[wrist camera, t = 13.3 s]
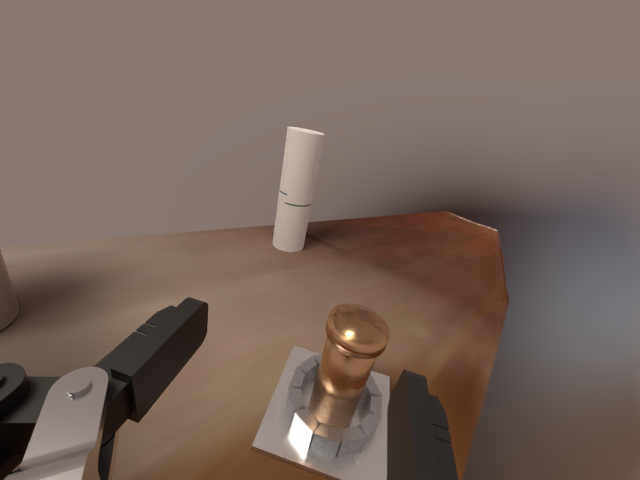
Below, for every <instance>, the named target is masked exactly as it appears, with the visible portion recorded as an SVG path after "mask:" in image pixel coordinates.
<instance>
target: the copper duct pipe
mask: <svg viewBox="0 0 640 480" xmlns="http://www.w3.org/2000/svg"><path fill="white" fill-rule="evenodd" d="M326 334H327V340H326V344H325V347H324V351H323V354H322V358H321V362H320V365H319V369H318V372H317V376H316V380H315V383H314V387H313V390H312V394H311V398H310V404H309V405H310V411H311V413H312V414H313V415H314V416H315V417H316V418H317V419H318V420H319V422H322V423H324V424H327V425H330V426H333V427H336V428H339V429H342V428H345V427H346V426H347V425H349V423H350V422H351V420H352V418H353V416H354V413H355V411H356V408H357V406H358V403H359V401H360V398H361V396H362V393H363V390H364V388H365V385H366V383H367V380H368V378H369V375H370V373H371V370H372V368H373V365H374V363H375V360H376V358H377V357H378V356H379V355H381V354H382V353H383V352H384V350H385V347H386V345H387V343H388V340H389V337H390V331H389V328H388V325H387V324H386V322H385V321H384V319H383V318H382V317H381V316H380V315H378V314H377V313H376V312H374V311H373V310H371V309H369V308H366V307H364V306H361V305H356V304H343V305H339V306H337V307H335V308H333V309H332V310H331V312H330V314H329V317H328V321H327V324H326Z"/></svg>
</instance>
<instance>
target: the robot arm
mask: <svg viewBox="0 0 640 480" xmlns="http://www.w3.org/2000/svg"><path fill="white" fill-rule="evenodd" d="M18 313H19V304H18V301H17V298H16V295H15V293H14V290H13V287H12V284H11V280H10V277H9V274H8V271H7V268H6V265H5V262H4V260H3V257H2V254H1V251H0V331H1V330H2V329H4V328H5V327H7V326H8V325H9V324H10V323H12V322H13V321H14V319H15V318H16V317H17V315H18ZM207 323H208V304H207V303H206V302H203V301H200V300H197V299H194V298H191V297H188V298H186V299H185V300H184V301H183V302H182V303H181V304H179V305H178V306H177V307H174V306H169V307H167V308H165V309H163V310H161V311H158V312H157V313H155V314H154V315H153V316H152V317H151V318H150V319H148V320H147V321H146V323H145V324H143V325H142V326H140V327H139V328H138V329H137V331H136V332H133V333H132V334H131V335H130V336H129V337H128V338H126V339H125V340H124V341H123V342H122V343H121V344H120V345H118V346H117V347H116V348H115V349H114V350H113V351H111V352H110V353H109V354H108V355H107V356H106V357H105V358H103V359H102V360H101V361H100V362H99V363H97V364H96V365H95V366H93V367H84V368H80V369H77V370H74V371H72V372H70V373H68V374H66V375H64V376H63V377H27V375H26V372H25V370H24V368H23V367H22V366H20V365H18V364H14V363H5V364H0V480H112V475H113V468H114V461H115V454H116V447H117V440H118V433H119V428H120V427H121V426H122V424H123V423H124V422H125V421H126V420H127V419H130V420H132V421H135V422H137V423H139V422H140V420H141V419H142V418H143V417H144V415H145V414H146V413H147V412H148V410H149V409H150V408H151V407H152V405H153V404H154V403H155V402H156V400H157V399H158V398H159V397H160V395H161V394H162V393H163V392H164V390H165V389H166V388H167V387H168V386H169V384H170V383H171V382H172V381H173V379H174V378H175V377H176V376H177V374H178V373H179V372H180V371H181V369H182V368H183V367H184V366H185V364H186V363H187V362H188V361H189V359H190V358H191V357H192V356H193V354H194V353H195V352H196V351H197V349H198V348H199V347H200V346H201V344H202V343H203V341H204V339H205V337H206V334H207ZM448 430H449V427H448V422H447V417H446V412H445V410H444V408H443V407H442V405H441V403H440V401H439V399H438V397H436V396H433V395H430V394H428V387H427V380H426V378H425V376H422V375H419V374H416V373H413V372H410V371H407V370H404V371H403V372H402V374H401V376H400V378H399V380H398V382H397V384H396V385H395V387H394V389H393V391H392V393H391V396H390V399H389V403H388V410H387V480H458V476H457V470H456V465H455V460H454V454H453V449H452V446H451V438H450V433H449V432H448ZM21 462H22V463H21ZM20 463H21V465H20V467H19V468H18V469H17V470H16V471H13V470H14V469H15V468H16V467H17V466H18V465H19V464H20ZM12 471H13V472H12Z"/></svg>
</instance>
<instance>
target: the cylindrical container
mask: <svg viewBox="0 0 640 480" xmlns="http://www.w3.org/2000/svg"><path fill="white" fill-rule="evenodd" d="M323 139H324V134H323V133H320V132H317V131H313V130H308V129H303V128H297V127H288V129H287V138H286V146H285V152H284V160H283V168H282V175H281V182H280V190H279V198H278V205H277V213H276V220H275V228H274V235H273V246H274V247H275V248H277V249H279V250H281V251H285V252H298V251H301V250H302V249H303V246H304V241H305V236H306V230H307V225H308V219H309V214H310V209H311V203H312V198H313V193H314V187H315V182H316V177H317V171H318V166H319V161H320V155H321V150H322V144H323Z"/></svg>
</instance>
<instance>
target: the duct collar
mask: <svg viewBox="0 0 640 480" xmlns="http://www.w3.org/2000/svg"><path fill="white" fill-rule="evenodd" d="M321 358H322V354H319V353H316V352H313V351H309V350H306V349H303V348H300V347H297V346H294V347H293V349H292V352H291V354H290V357H289V359H288V361H287V364H286V366H285V368H284V371H283V373H282V376H281V378H280V380H279V383H278V385H277V387H276V390H275V392H274V395H273V397H272V399H271V402H270V404H269V407H268V409H267V411H266V414H265V416H264V418H263V421H262V423H261V426H260V428H259V430H258V433H257V435H256V437H255V440H254V442H253V445H252V450H254V451H257V452H260V453H262V454H265V455H267V456H270V457H273V458H275V459H278V460H281V461H283V462H286V463H288V464H291V465H294V466H296V467H299V468H302V469H304V470H307V471H309V472H312V473H315V474H317V475H320V476H323V477H325V478H328V479H330V480H387V410H388V403H389V399H390V377H389V376H386V375H383V374H380V373H377V372H374V371H371V373H370V375H369V378H368V380H367V383H366V385H365V388H364V390H363V393H362V396H361V398H360V401H359V403H358V406H357V408H356V411H355V413H354V416H353V418H352V420H351V422H350V423H349V425H347V426H346V427H345V428H342V429H339V428H336V427H333V426H330V425H327V424H324V423H322V422H319V420H318V419H317V418H316V417H315V416H314V415H313V414H312V413H311V411H310V405H309V404H310V398H311V394H312V390H313V387H314V383H315V380H316V376H317V372H318V369H319V365H320V362H321Z"/></svg>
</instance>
